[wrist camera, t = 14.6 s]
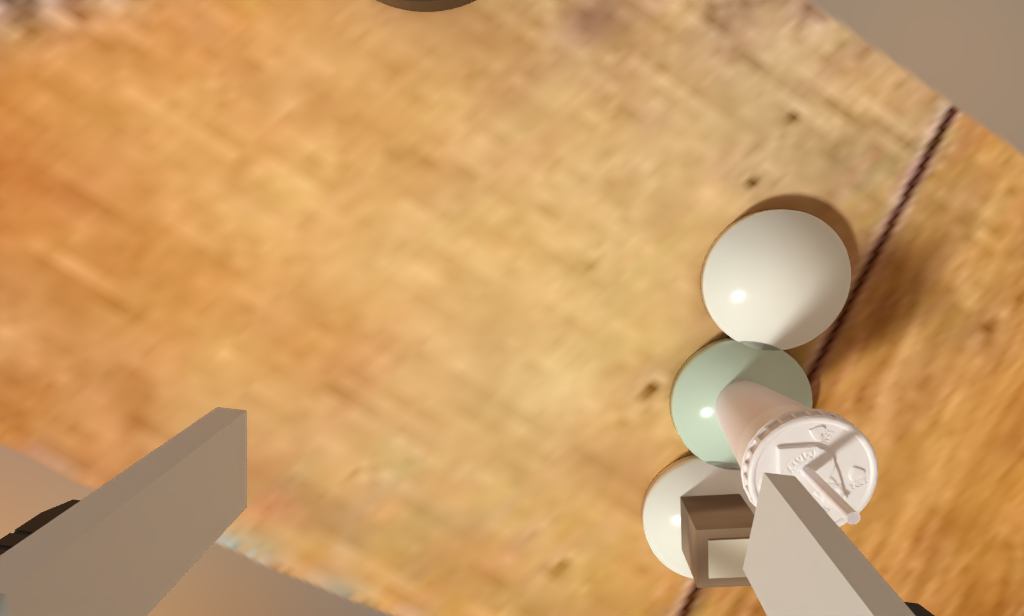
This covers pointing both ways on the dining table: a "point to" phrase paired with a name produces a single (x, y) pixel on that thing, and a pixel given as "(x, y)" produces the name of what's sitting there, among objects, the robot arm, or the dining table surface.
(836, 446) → the smoothie
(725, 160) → the dining table surface
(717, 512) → the letter cube
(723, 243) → the saucer near
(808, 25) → the dining table surface
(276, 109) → the dining table surface
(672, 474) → the saucer far
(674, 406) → the saucer mid
